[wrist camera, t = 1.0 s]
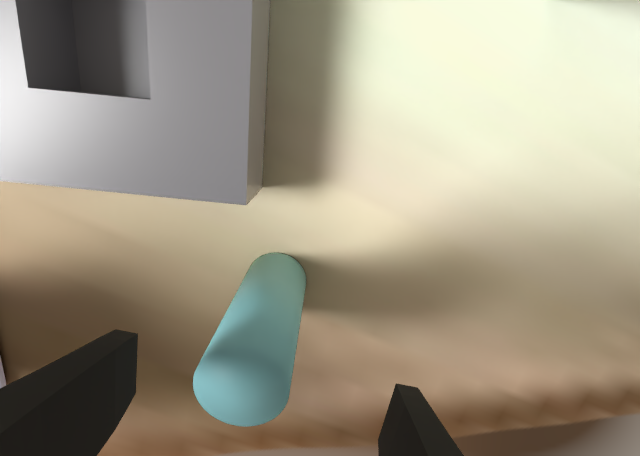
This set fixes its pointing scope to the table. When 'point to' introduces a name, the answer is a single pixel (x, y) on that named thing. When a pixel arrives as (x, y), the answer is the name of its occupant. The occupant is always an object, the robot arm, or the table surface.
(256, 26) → the socket block
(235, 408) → the pin
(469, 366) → the table surface
